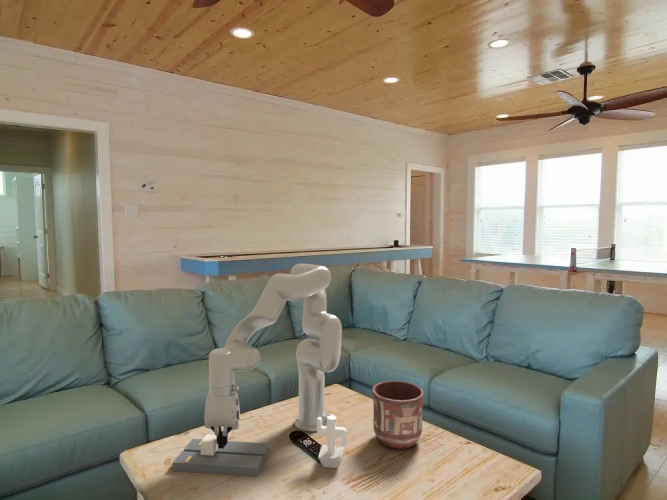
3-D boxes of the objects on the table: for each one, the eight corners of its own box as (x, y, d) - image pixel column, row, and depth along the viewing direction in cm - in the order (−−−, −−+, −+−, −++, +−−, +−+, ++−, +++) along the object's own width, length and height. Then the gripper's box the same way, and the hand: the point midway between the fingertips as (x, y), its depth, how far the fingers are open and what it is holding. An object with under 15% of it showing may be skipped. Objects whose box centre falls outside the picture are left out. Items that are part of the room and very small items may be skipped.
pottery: (360, 439, 145) (361, 388, 144) (394, 423, 156) (394, 376, 155) (400, 461, 131) (401, 405, 130) (433, 442, 143) (434, 391, 142)
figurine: (345, 471, 126) (345, 423, 125) (314, 468, 127) (314, 420, 126) (347, 458, 133) (348, 412, 132) (318, 455, 134) (318, 410, 133)
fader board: (269, 450, 137) (269, 442, 137) (257, 476, 123) (257, 467, 123) (192, 446, 139) (192, 438, 139) (172, 470, 125) (172, 461, 125)
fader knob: (219, 450, 134) (219, 434, 133) (213, 458, 129) (213, 443, 128) (207, 449, 134) (206, 434, 134) (200, 458, 129) (200, 442, 129)
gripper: (248, 385, 133) (249, 441, 134) (203, 383, 134) (203, 439, 135) (241, 394, 125) (241, 454, 126) (193, 392, 127) (194, 451, 128)
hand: (222, 446), depth 131 cm, fingers closed
